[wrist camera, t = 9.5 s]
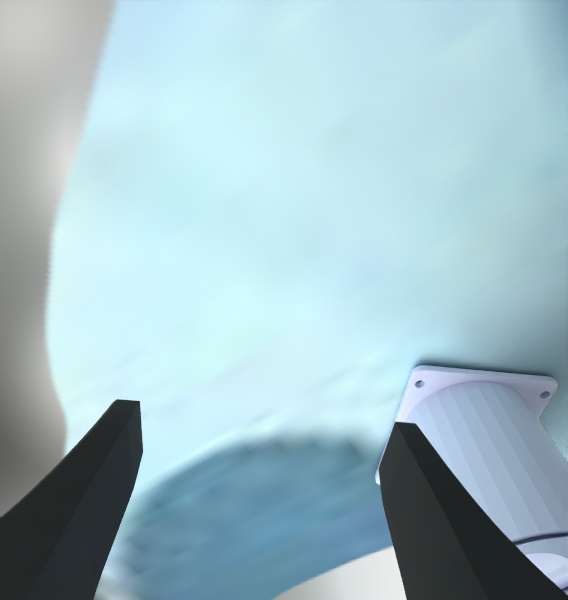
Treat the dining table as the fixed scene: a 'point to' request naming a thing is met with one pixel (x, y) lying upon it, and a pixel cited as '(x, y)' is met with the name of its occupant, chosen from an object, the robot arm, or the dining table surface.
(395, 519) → the robot arm
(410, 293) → the dining table surface
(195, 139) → the dining table surface
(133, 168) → the dining table surface
